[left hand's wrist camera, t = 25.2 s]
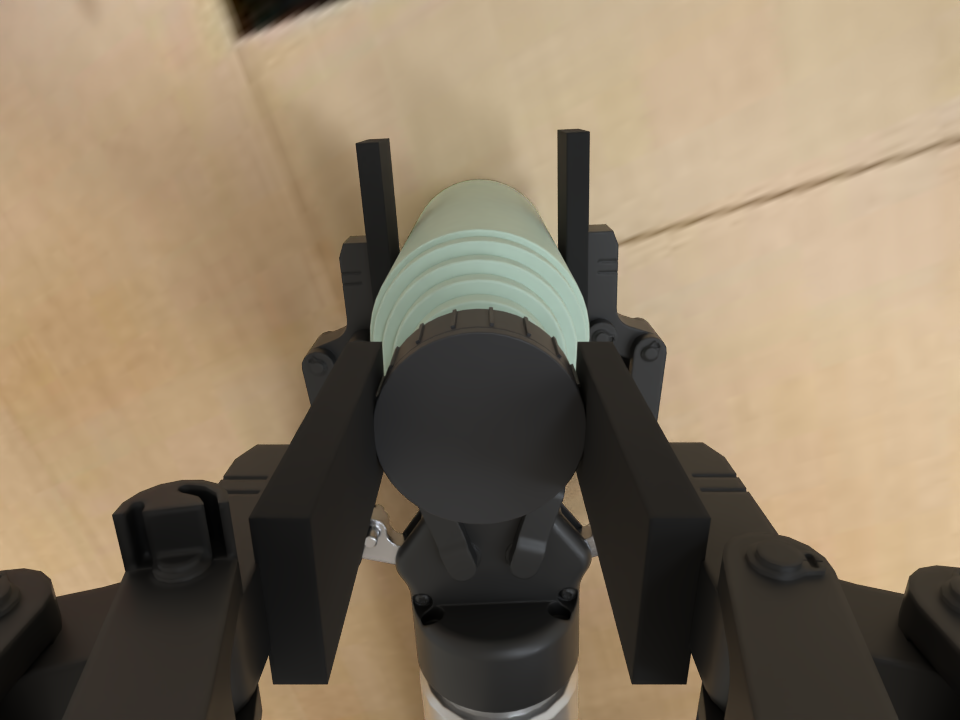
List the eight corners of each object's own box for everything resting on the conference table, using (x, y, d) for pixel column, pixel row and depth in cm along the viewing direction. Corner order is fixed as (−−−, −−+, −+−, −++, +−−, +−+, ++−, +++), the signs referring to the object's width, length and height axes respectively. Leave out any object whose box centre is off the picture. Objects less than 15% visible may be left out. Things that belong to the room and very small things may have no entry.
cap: (345, 354, 14) (329, 383, 13) (534, 273, 14) (541, 293, 12) (432, 511, 16) (426, 553, 14) (607, 444, 15) (621, 482, 14)
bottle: (400, 295, 31) (310, 509, 15) (429, 163, 29) (362, 240, 12) (526, 326, 32) (576, 566, 15) (563, 199, 29) (670, 317, 13)
